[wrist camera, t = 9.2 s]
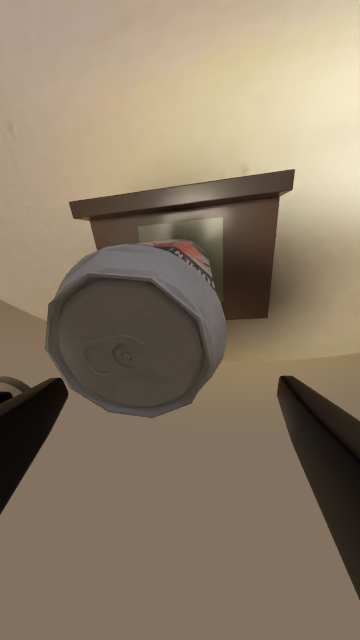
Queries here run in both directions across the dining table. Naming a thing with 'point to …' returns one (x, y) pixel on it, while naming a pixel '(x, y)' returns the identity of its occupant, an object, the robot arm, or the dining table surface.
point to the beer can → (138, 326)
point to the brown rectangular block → (204, 230)
